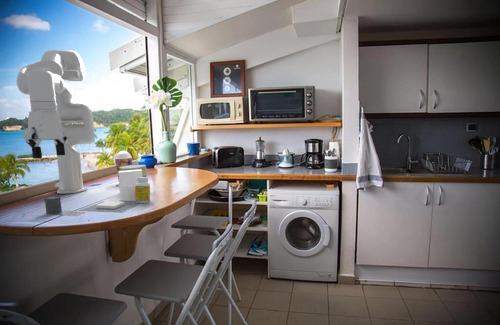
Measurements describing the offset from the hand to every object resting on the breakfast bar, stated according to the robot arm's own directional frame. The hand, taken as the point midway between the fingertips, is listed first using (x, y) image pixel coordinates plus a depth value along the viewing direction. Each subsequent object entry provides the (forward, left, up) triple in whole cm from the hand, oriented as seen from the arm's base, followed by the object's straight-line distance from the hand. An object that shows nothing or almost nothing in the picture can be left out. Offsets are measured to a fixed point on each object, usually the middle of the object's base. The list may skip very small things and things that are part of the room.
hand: (49, 156), depth 112 cm
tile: (+13, +8, -19) cm, 24 cm away
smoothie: (-9, +53, -20) cm, 58 cm away
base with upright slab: (+17, +21, -21) cm, 34 cm away
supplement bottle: (+25, +16, -20) cm, 36 cm away
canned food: (+10, +33, -21) cm, 40 cm away
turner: (+6, -2, -20) cm, 21 cm away
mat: (+17, +8, -20) cm, 28 cm away
